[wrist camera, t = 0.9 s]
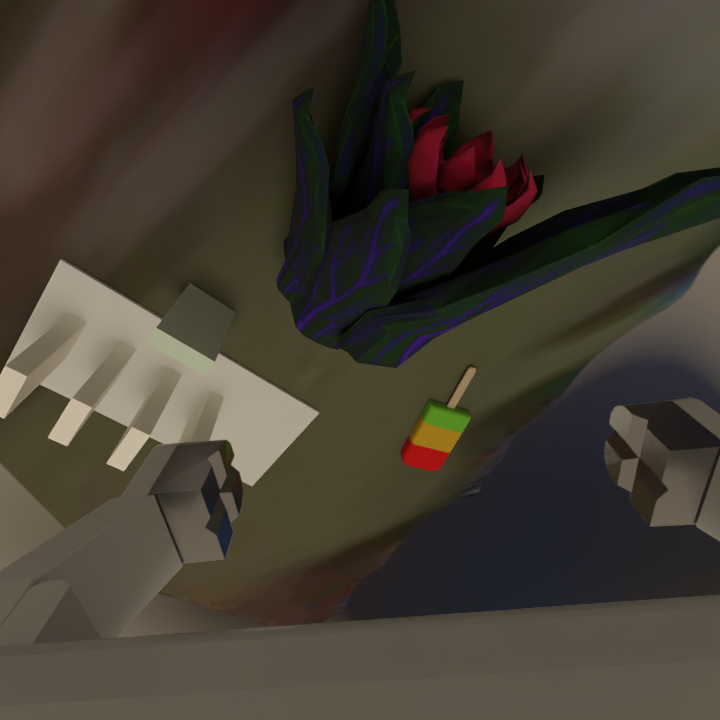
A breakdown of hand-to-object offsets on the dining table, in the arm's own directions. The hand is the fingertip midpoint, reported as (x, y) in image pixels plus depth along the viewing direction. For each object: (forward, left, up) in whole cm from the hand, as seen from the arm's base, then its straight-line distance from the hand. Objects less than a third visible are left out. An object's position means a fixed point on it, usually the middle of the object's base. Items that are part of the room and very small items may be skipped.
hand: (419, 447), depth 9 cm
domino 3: (-3, -27, -34) cm, 43 cm away
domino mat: (-2, -27, -34) cm, 44 cm away
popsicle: (+25, -12, -35) cm, 44 cm away
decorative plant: (+4, +6, -34) cm, 35 cm away
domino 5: (+2, -27, -34) cm, 43 cm away
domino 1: (-13, -27, -34) cm, 45 cm away
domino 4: (-4, -16, -34) cm, 38 cm away
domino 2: (-8, -27, -34) cm, 44 cm away
